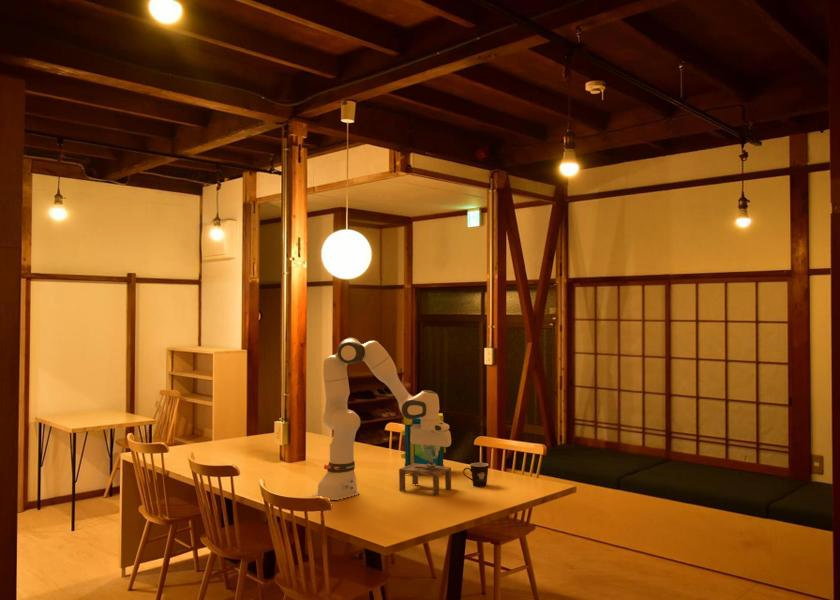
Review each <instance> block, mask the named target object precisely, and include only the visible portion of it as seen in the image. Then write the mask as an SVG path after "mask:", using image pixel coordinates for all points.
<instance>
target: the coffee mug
mask: <svg viewBox="0 0 840 600" xmlns="http://www.w3.org/2000/svg"><path fill="white" fill-rule="evenodd" d="M466 470H469V471H470V473H471V477H469V476H468V475H466V474H465V471H466ZM488 472H489V463H487V462H486V463H485V462H472V463H470V467H465V468H463V470H462V474H463V475H464V477H466V478H467V479H469V480H471V481H472V486H473V487H475V488H485V487H487V485H488V483H487V482H488V475H489V473H488Z"/></svg>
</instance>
